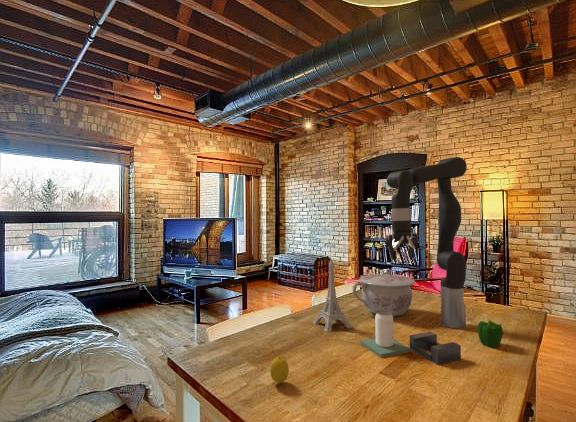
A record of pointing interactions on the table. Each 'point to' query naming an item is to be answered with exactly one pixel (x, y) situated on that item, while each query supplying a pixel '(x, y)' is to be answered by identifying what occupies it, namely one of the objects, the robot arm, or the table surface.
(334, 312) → the eiffel tower
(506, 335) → the table surface
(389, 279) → the chamber pot
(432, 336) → the block
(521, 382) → the table surface
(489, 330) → the bell pepper
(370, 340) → the mat
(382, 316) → the can
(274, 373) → the lemon
